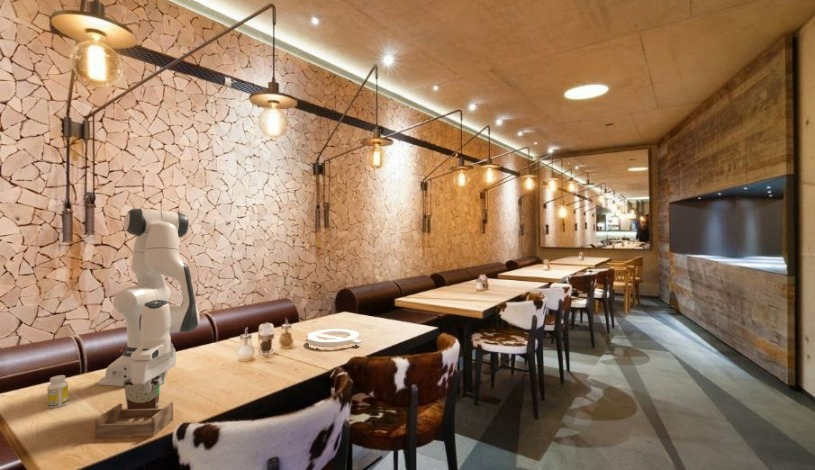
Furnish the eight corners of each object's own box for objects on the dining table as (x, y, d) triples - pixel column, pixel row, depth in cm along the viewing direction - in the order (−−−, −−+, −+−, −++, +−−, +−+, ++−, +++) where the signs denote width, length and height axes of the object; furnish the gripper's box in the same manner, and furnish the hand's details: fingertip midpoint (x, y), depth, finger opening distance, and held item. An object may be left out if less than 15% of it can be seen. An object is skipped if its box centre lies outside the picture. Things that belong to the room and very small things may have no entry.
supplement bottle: (66, 400, 140) (66, 373, 140) (69, 404, 137) (69, 376, 137) (46, 405, 136) (46, 377, 136) (48, 409, 133) (49, 381, 133)
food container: (170, 401, 139) (169, 373, 139) (160, 408, 132) (159, 379, 133) (135, 403, 138) (134, 374, 138) (123, 410, 132) (122, 381, 132)
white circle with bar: (306, 339, 226) (306, 331, 226) (354, 335, 234) (354, 327, 234) (308, 353, 199) (308, 343, 199) (363, 348, 207) (363, 339, 207)
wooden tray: (154, 436, 115) (154, 417, 115) (95, 438, 114) (95, 418, 114) (173, 419, 125) (173, 402, 125) (119, 421, 124) (119, 403, 124)
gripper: (163, 340, 146) (163, 377, 145) (126, 356, 125) (126, 400, 125) (181, 340, 146) (180, 377, 146) (147, 356, 125) (146, 399, 125)
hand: (155, 387), depth 135 cm, fingers closed on food container, 6 cm apart
